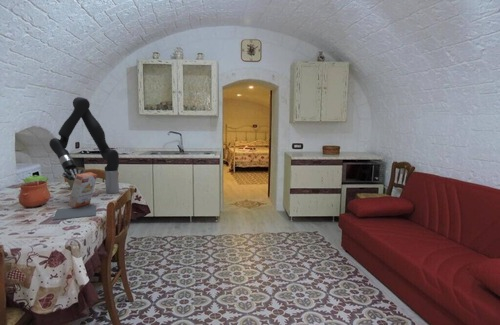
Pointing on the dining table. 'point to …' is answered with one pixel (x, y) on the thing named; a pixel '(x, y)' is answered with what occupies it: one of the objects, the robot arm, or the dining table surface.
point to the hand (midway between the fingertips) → (78, 183)
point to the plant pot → (72, 180)
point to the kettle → (35, 178)
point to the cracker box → (82, 189)
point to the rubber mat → (75, 212)
